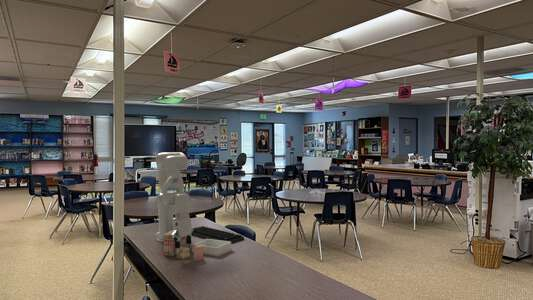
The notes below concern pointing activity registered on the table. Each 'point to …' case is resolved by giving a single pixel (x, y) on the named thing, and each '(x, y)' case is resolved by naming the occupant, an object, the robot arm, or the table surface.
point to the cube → (183, 252)
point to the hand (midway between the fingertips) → (183, 246)
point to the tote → (213, 247)
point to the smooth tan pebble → (198, 253)
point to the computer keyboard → (216, 234)
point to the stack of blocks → (172, 244)
